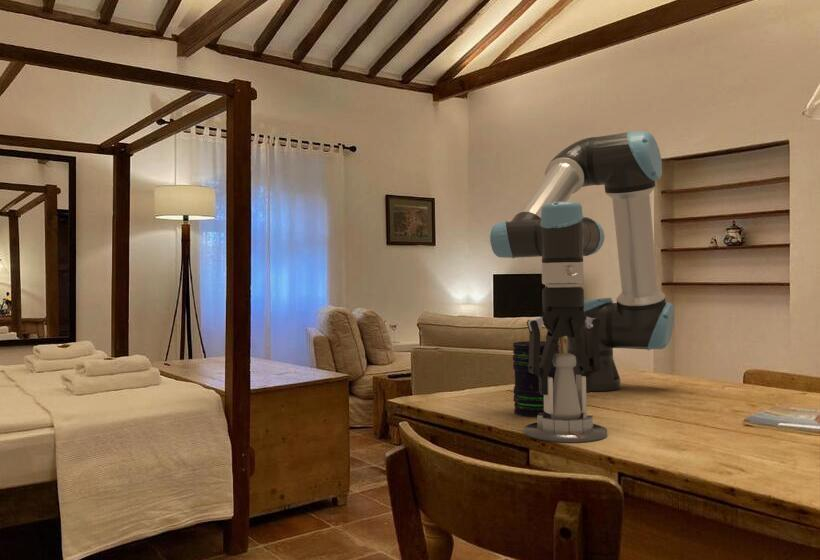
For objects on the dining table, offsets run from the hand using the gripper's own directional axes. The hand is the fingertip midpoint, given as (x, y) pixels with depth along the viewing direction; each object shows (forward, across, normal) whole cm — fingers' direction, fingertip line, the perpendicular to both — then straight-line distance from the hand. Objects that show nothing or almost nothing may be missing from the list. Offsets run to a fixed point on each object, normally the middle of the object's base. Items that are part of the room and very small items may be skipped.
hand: (565, 411), depth 128 cm
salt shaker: (+3, 0, 0) cm, 3 cm away
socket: (+4, 0, 0) cm, 4 cm away
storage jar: (+4, +2, +20) cm, 20 cm away
